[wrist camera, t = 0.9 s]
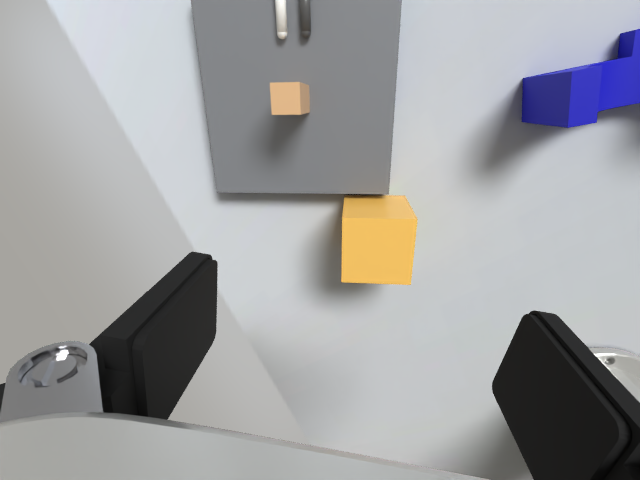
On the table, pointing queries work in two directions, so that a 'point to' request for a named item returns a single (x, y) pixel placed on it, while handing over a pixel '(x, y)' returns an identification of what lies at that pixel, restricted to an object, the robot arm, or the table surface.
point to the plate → (335, 95)
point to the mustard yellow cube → (377, 239)
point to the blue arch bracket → (584, 88)
